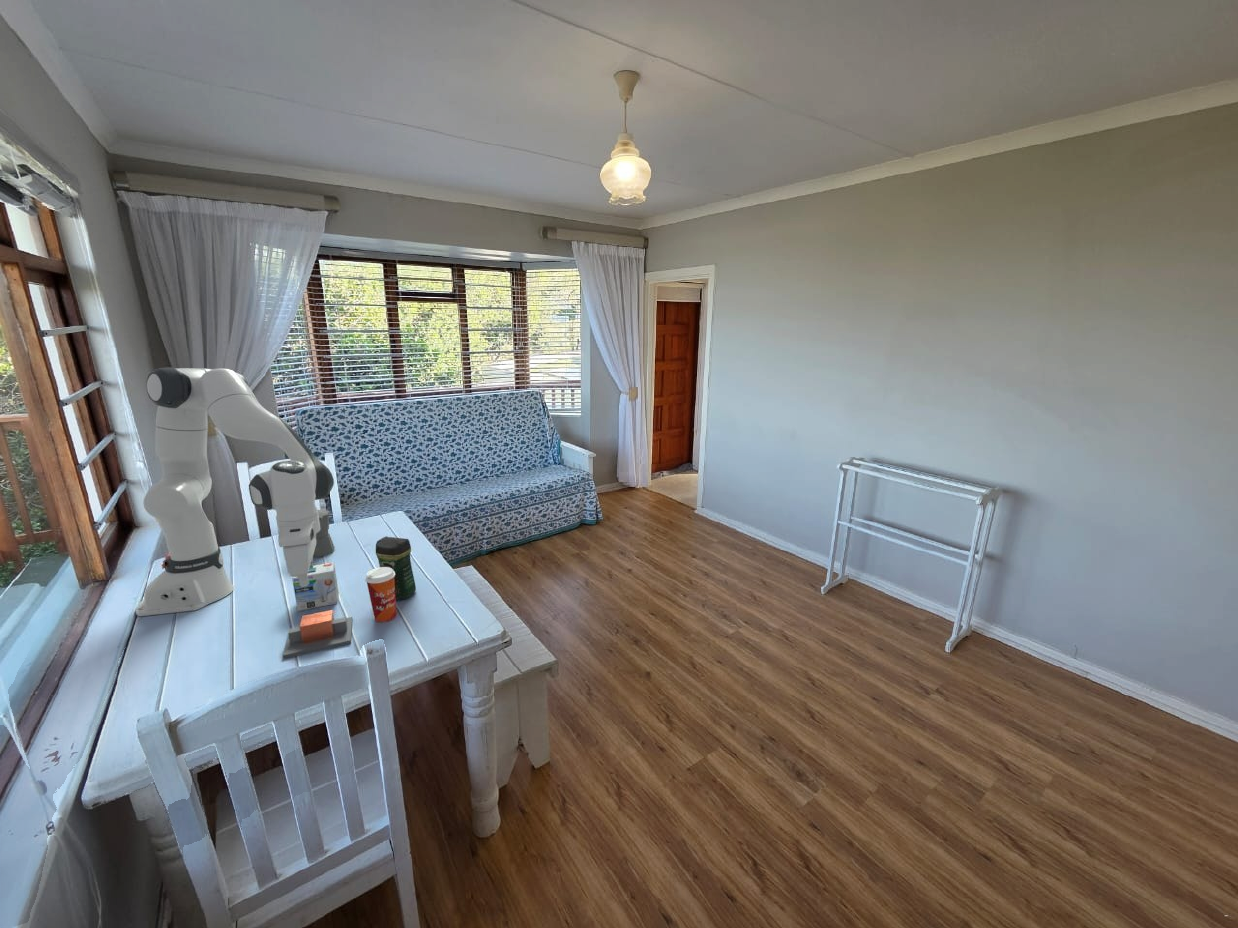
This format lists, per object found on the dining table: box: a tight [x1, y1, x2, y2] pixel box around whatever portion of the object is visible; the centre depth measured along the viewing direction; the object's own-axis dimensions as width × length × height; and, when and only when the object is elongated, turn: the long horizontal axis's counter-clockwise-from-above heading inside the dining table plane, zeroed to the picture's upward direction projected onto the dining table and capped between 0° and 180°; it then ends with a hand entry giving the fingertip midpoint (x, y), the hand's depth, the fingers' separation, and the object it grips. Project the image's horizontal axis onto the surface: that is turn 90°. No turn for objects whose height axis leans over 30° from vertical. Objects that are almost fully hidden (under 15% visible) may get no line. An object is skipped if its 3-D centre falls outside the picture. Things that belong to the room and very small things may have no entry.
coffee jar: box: [375, 535, 417, 601], centre depth 152 cm, size 10×8×19 cm
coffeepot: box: [313, 509, 336, 559], centre depth 181 cm, size 15×9×18 cm, turn 44°
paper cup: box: [364, 566, 397, 623], centre depth 141 cm, size 8×8×14 cm
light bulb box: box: [291, 561, 340, 612], centre depth 148 cm, size 11×7×11 cm, turn 118°
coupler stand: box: [282, 616, 354, 660], centre depth 132 cm, size 15×12×4 cm
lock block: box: [299, 609, 335, 644], centre depth 131 cm, size 7×6×5 cm
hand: (307, 576), depth 127 cm, fingers open, 8 cm apart
